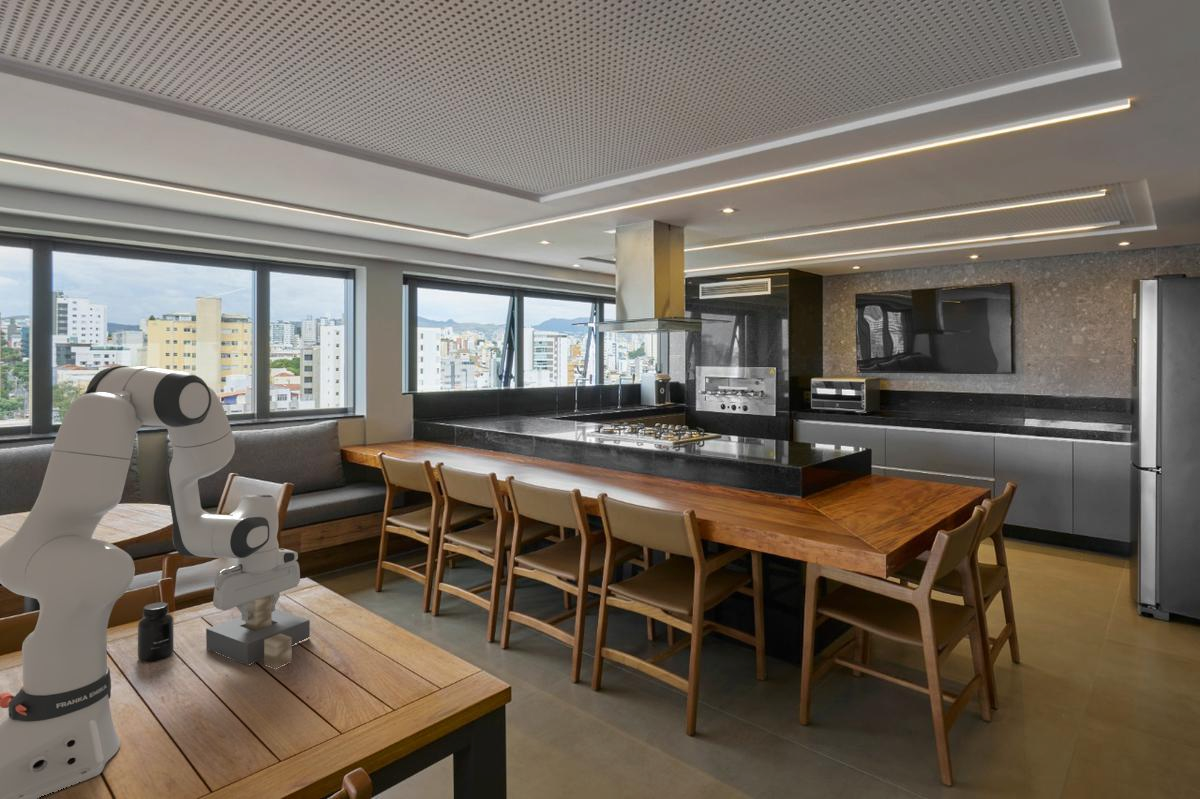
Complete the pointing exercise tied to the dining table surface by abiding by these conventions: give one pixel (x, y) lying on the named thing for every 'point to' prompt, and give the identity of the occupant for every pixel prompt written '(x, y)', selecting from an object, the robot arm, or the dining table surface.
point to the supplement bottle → (155, 633)
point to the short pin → (277, 650)
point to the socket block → (254, 636)
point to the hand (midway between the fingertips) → (258, 615)
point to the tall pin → (259, 614)
